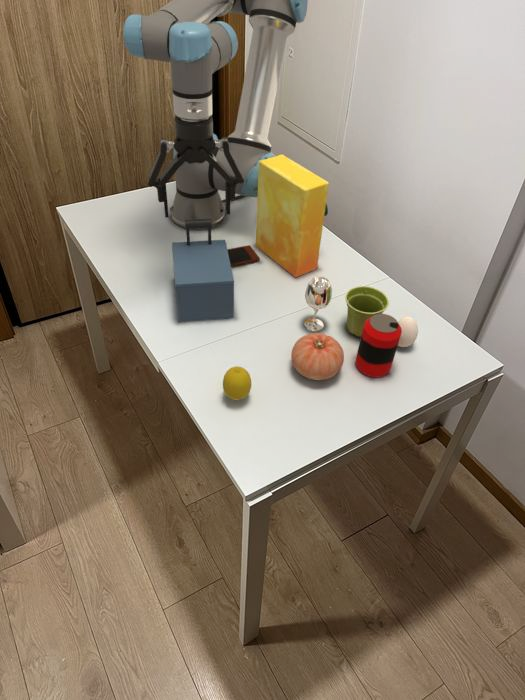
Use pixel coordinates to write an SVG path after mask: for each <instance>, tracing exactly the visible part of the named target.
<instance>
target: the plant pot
mask: <svg viewBox="0 0 525 700" xmlns="http://www.w3.org/2000/svg"><path fill="white" fill-rule="evenodd" d="M344 298H345V303H346V306H347V314H346V315H347V317H346V328H347V331H348V332H349V333H350V334H352V335H354V336H356V337H357V338H361V335H362V330H363V326H364V323H365V321H366V320H367V319H368V318H370V317H372V316H374V315H376V314H384V312H385V311H386V310H387V309H388V307H389V304H390V300H389V298H388V296H387V295H386V294H385V293H384V292H382V290H380V289H377V288H375V287H371V286H368V285H367V286H365V285H362V286H361V285H360V286H355V287H352V288H350V289H349V290H348V291H347V292H346V293H345V297H344Z"/></svg>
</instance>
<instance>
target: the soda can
mask: <svg viewBox="0 0 525 700" xmlns="http://www.w3.org/2000/svg"><path fill="white" fill-rule="evenodd" d="M401 333H402V329H401V327H400V325H399V324H398V320H397V319H396V318H395V317H394V316H392V315H390V314H387V313H382V314H376V315H374V316H372V317H370V318H368V319H367V320H366V321H365V323H364V326H363V330H362V335H361V337H360V339H359V343H358V348H357V352H356V356H355V366H356V368H357V370H358V371H360V372H361V373H362V374H364V376H367V377H369V378H371V377H372V378H381V377H384V376H387V375H388V374H389V373H390V372H391V369H392V366H393V363H394V360H395V356H396V352H397V349H398V347H399V346H398V343H399V340H400V337H401Z"/></svg>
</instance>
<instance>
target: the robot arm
mask: <svg viewBox="0 0 525 700" xmlns="http://www.w3.org/2000/svg"><path fill="white" fill-rule="evenodd" d="M308 1H309V0H171V1H169V2H168V3H166V4H165V5H163V6H162V7H160V8H159V9H158V10H156V11H155V12H154V13H151V14H150V15H145V14H141V13H140V14H131V15H129V16H127V17H126V20H125V22H124V24H123V32H122V34H123V36H122V37H123V43H124V46H125V49H126V51H127V53H128V54H130V55H131V56H133V57H136V58H140V59H144V60H151V61H157V62H163V63H170V70H171V71H170V72H171V84H172V105H173V115H175V116H174V118H173V119H174V120H173V121H174V134H175V138H174V141H172V140H167V139H166V138H164V137H162V138H160V141H159V150H158V153H157V155H156V157H155V160H154V163H153V165H152V168H151V170H150V172H149V174H148V177H147V186H148V187H150V188H152V187H154V188H156V193H157V200H158V202H159V203H163V207H164V209H163V210H164V217H165V218H170V217H169V212H170V213H171V219H172V221H173V222H174V224H176V225H177V226H178V227H181V228H184V229H185V220H189V219H211V220H212V227H211V229H213V228H216V227H218V226H219V225H221V224H222V223H223V222H224V221H225V218H226V216H227V215H228V216H230V215H231V202H232V201H235V200H238V199H242V198H244V197H250V198H251V197H252V198H258V175H259V161H261V160H264V159H268V158H271V157H275V156H276V155H275V154H274V153H273V152H272V144H271V143H270V141H269V139H268V136H269V132H270V127H271V121H272V117H273V112H274V105H275V101H276V95H277V91H278V85H279V80H280V75H281V70H282V67H283V62H284V61H283V60H284V54H285V50H286V45H287V41H288V38H289V37H290V36H291V35H293V34H294V33H295V31H296V27H297V24H301V23H304V21H305V18H306V17H307V11H308V3H309V2H308ZM227 14H239V15H244V16H248V23H249V24H250V26H251V28H252V34H251V39H250V45H249V51H248V56H247V61H246V66H245V67H246V68H245V73H244V78H243V84H242V89H241V95H240V99H239V100H240V101H239V105H238V112H237V117H236V123H235V127H234V128H235V129H234V131H233V132H232V133H230V134H229V135H228V136H227V137H226V136H223V137H221V139H219V138H218V136H217V134H215V133H214V119H213V117H212V115H213V112H214V111H213V74H215V72H217V71H218V70H220V69H222V68H224V67H225V66H227V65H228V64H229V63H230V62H231V61H232V60H233V59H234V58H235V57H236V54H237V51H238V49H239V48H238V47H239V42H238V37H237V36H238V35H237V34H236V31H235V30H234V29H233V27H232V26H231V25H230V24H229V23H227V22H225V21H221V20H217V21H212V20H213V19H215V18H216V17H224V16H226V15H227ZM211 21H212V22H211ZM172 149H173V155H172V160H171V162H170V163H169V164H168V165H167V167H166V168H165V169H164V171H163V172H162V173H161V174H160V172H161V169H162V167H163V164H164V162H165V160H166V157H167V154H168V153H170V152H171V150H172ZM159 174H160V175H159ZM158 176H159V177H158ZM173 176H174V177H175V179H174V180H175V190H176V191H175V196H174V200H173V202H172V203H173V204H172V206H170V208H169V204H168V193H167V192H168V191H167V184H168V182H169V181H170V179H172V177H173ZM219 191H221V192H224V193H225V195H224V196H225V199H224V198H223V199H222V198H221V195H220V192H219ZM224 204H225V205H224ZM224 206H225V207H224ZM190 230H193V231H204V230H208V228H191V229H190Z"/></svg>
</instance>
